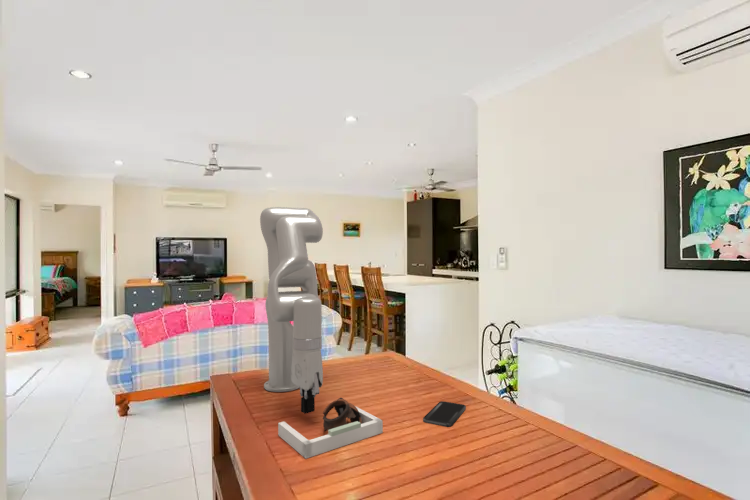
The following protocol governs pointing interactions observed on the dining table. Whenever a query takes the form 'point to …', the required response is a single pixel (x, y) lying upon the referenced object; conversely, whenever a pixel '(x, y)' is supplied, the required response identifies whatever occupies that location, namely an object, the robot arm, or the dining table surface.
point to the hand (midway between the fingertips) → (307, 411)
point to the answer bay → (332, 435)
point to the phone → (444, 414)
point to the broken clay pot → (340, 414)
